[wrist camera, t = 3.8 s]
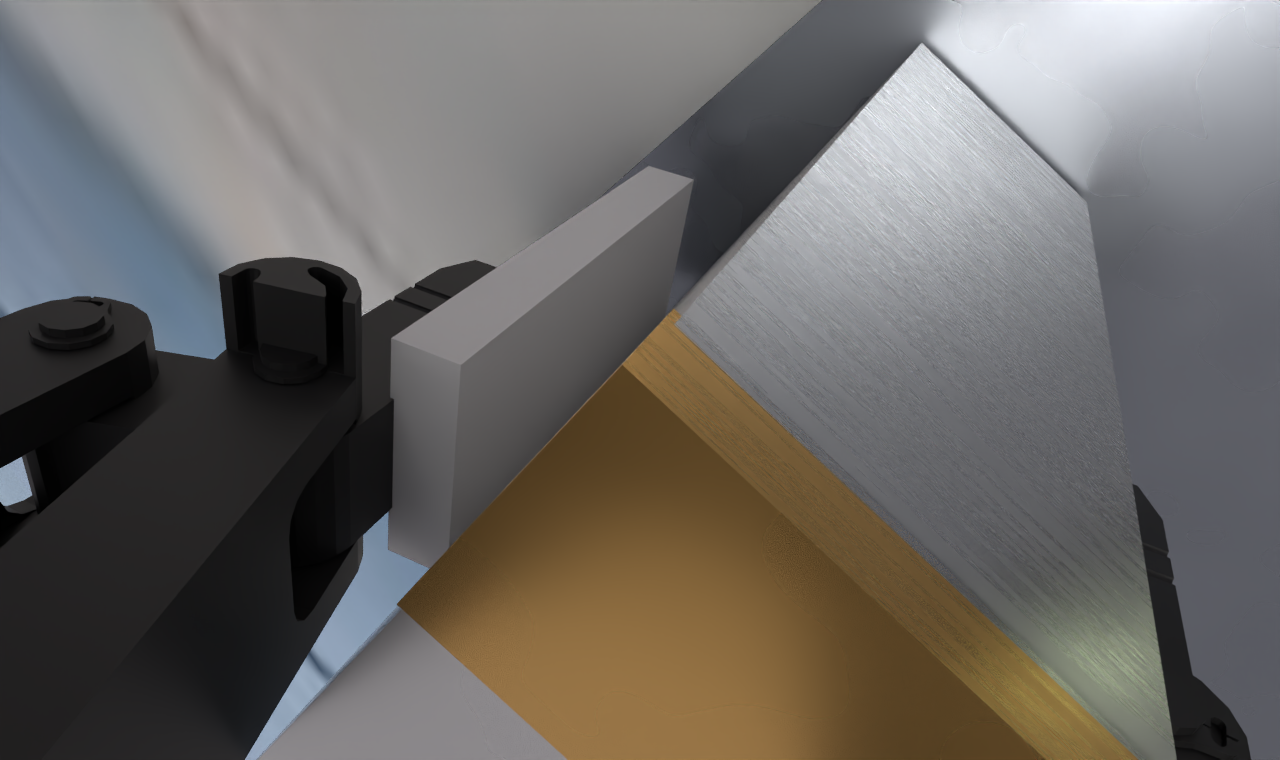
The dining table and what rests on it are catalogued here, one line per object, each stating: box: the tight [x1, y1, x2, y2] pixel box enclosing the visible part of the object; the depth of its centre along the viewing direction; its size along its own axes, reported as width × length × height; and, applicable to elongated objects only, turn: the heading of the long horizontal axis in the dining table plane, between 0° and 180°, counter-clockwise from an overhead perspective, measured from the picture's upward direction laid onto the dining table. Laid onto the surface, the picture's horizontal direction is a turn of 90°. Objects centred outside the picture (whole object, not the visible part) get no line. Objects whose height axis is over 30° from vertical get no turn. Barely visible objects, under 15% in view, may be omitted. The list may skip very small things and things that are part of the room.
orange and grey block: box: [256, 43, 1177, 760], centre depth 10 cm, size 3×7×10 cm, turn 141°
